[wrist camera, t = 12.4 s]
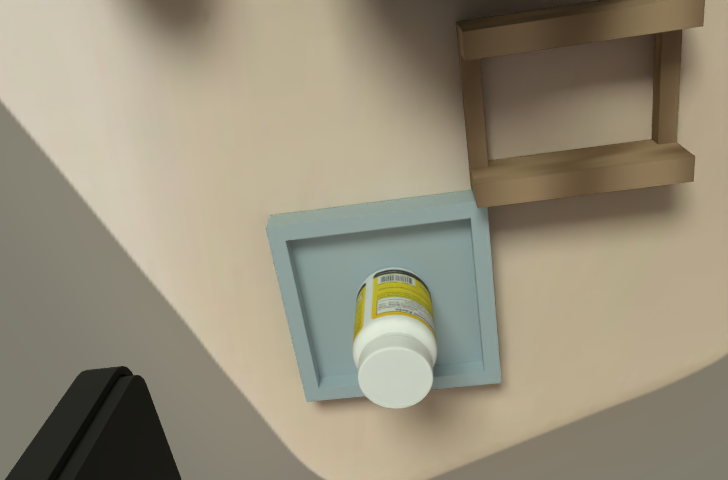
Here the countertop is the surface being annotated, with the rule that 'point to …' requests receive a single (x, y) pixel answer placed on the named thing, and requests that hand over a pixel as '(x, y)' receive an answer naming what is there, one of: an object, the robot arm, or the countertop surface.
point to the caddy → (594, 164)
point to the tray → (378, 251)
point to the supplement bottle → (394, 338)
